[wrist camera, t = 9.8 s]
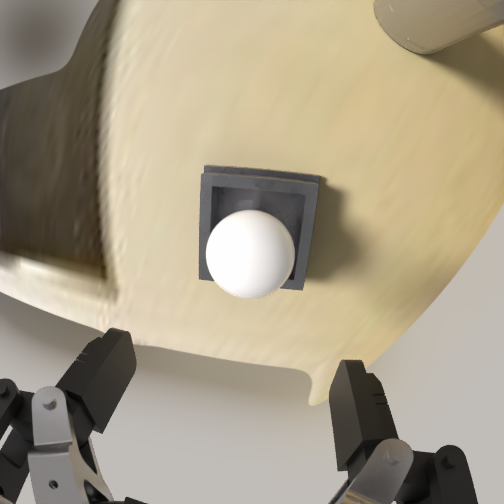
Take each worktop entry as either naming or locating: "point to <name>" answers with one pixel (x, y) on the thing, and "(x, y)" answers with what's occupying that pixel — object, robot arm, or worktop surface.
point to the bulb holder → (260, 207)
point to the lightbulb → (250, 254)
